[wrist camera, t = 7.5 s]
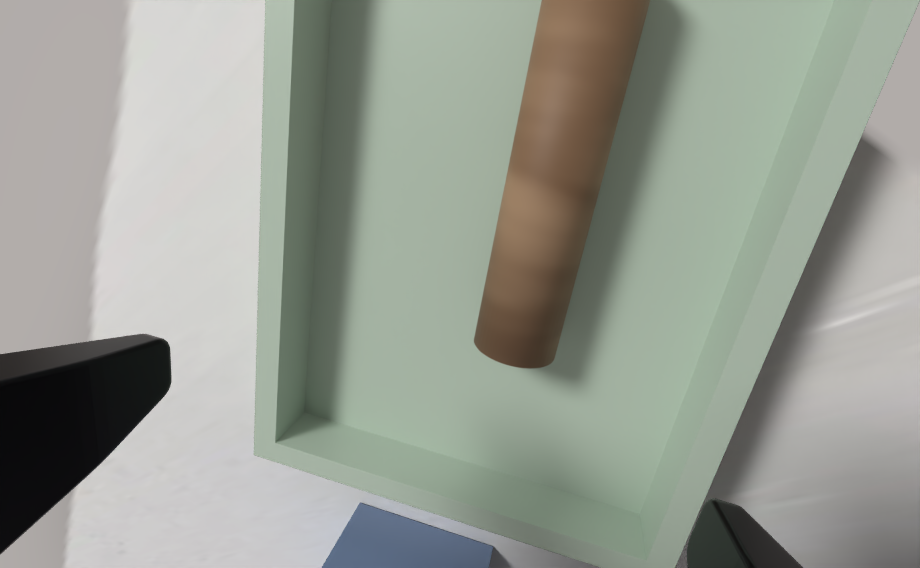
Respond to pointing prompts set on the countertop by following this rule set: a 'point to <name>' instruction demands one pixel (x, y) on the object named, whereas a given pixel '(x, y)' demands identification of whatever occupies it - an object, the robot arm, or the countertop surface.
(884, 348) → the countertop surface
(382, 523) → the slate blue cup
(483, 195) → the sage tray
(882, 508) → the countertop surface
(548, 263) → the walnut dowel
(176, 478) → the countertop surface
